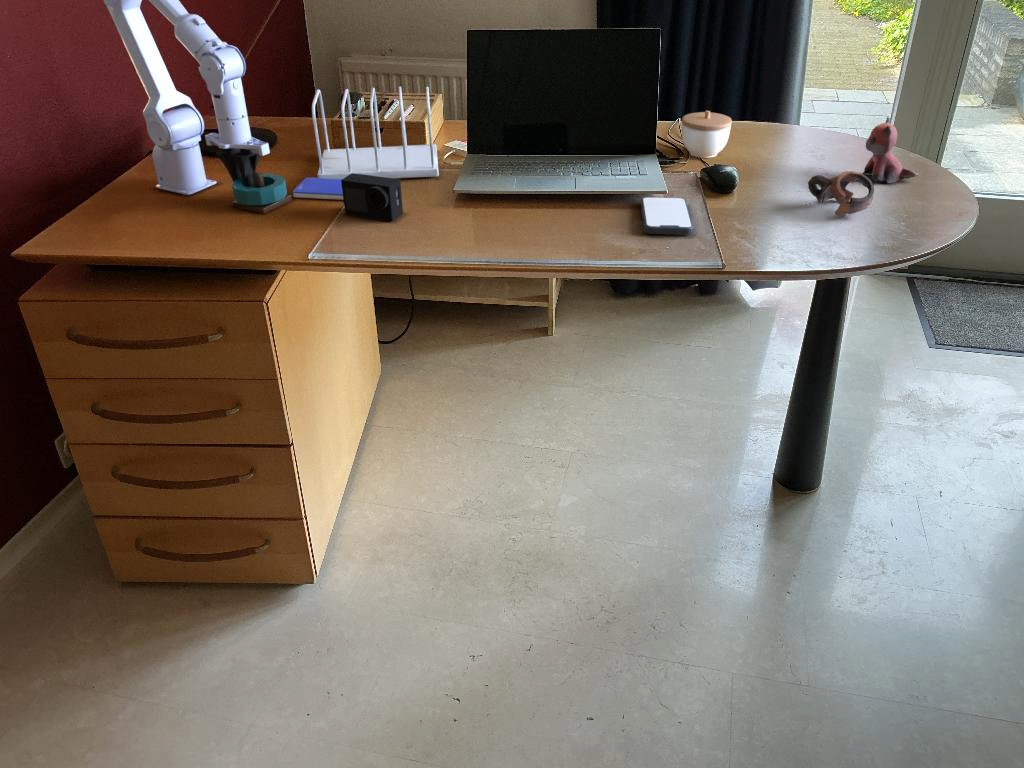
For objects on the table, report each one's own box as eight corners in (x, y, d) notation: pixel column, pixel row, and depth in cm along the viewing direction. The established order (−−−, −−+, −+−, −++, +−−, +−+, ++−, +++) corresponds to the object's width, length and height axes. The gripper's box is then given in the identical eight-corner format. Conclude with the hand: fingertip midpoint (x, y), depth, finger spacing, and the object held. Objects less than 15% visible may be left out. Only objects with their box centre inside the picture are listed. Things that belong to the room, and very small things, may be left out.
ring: (224, 199, 167) (221, 185, 165) (259, 184, 174) (257, 170, 172) (262, 208, 163) (259, 194, 161) (296, 192, 170) (294, 178, 168)
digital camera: (341, 217, 163) (336, 181, 159) (355, 207, 167) (351, 172, 163) (389, 224, 160) (386, 188, 156) (403, 214, 164) (400, 178, 160)
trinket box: (669, 153, 192) (672, 111, 187) (698, 143, 198) (702, 101, 193) (708, 164, 186) (713, 121, 181) (737, 153, 192) (742, 111, 187)
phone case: (639, 204, 167) (644, 235, 154) (640, 196, 167) (644, 227, 153) (685, 205, 167) (693, 236, 153) (686, 197, 166) (694, 228, 152)
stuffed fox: (920, 187, 173) (935, 128, 166) (862, 185, 175) (875, 126, 168) (911, 175, 179) (926, 117, 173) (855, 172, 181) (868, 115, 174)
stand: (232, 206, 168) (227, 177, 164) (261, 193, 174) (256, 164, 170) (263, 213, 164) (258, 183, 161) (291, 200, 170) (287, 170, 167)
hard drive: (292, 190, 170) (352, 193, 169) (307, 176, 177) (364, 179, 175) (293, 198, 171) (353, 201, 170) (308, 183, 178) (365, 186, 176)
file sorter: (436, 152, 194) (432, 81, 186) (439, 178, 180) (434, 103, 171) (324, 156, 192) (315, 85, 184) (318, 184, 178) (307, 107, 169)
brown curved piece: (863, 203, 167) (883, 175, 160) (854, 239, 163) (873, 212, 156) (804, 182, 169) (821, 153, 161) (793, 217, 165) (809, 189, 157)
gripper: (187, 116, 162) (202, 185, 169) (245, 126, 156) (258, 198, 163) (215, 107, 167) (228, 175, 174) (272, 116, 161) (283, 186, 168)
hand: (244, 185), depth 169 cm, fingers closed on ring, 2 cm apart
